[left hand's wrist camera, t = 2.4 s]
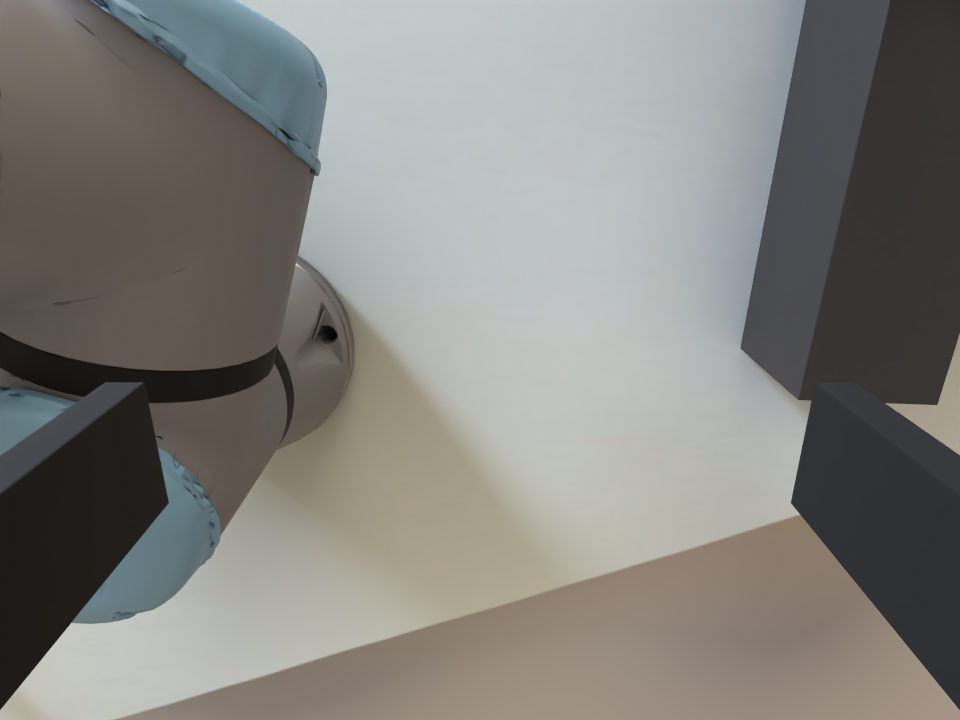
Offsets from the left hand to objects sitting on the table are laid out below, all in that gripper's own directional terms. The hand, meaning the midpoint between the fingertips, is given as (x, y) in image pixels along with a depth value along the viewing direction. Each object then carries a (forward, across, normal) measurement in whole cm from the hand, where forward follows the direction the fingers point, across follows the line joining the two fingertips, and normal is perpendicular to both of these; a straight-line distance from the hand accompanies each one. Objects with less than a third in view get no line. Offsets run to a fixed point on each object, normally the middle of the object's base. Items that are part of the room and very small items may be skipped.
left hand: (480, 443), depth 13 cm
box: (+31, -23, -6) cm, 39 cm away
